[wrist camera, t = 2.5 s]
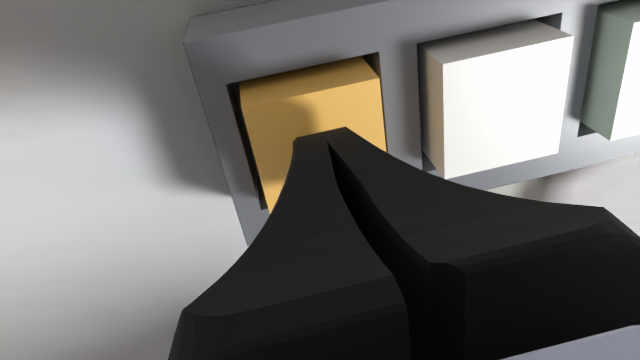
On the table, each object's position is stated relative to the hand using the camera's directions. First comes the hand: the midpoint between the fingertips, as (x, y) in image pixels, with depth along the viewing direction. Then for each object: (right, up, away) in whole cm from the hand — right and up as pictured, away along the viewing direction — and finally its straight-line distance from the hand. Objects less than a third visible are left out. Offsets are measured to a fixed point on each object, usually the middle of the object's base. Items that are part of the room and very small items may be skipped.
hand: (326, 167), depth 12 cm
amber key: (0, +1, +2) cm, 3 cm away
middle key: (+4, +2, +2) cm, 6 cm away
